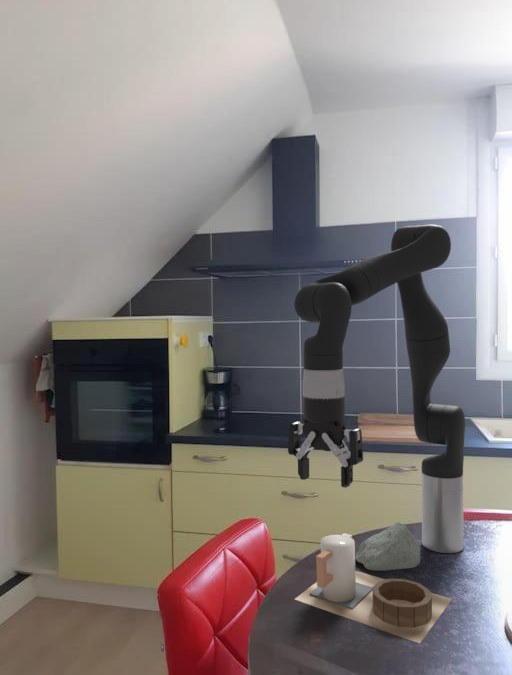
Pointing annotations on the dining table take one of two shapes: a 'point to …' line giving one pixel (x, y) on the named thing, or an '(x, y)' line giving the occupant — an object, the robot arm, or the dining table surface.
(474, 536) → the dining table surface
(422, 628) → the serving board
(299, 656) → the dining table surface
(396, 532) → the decorative stone
